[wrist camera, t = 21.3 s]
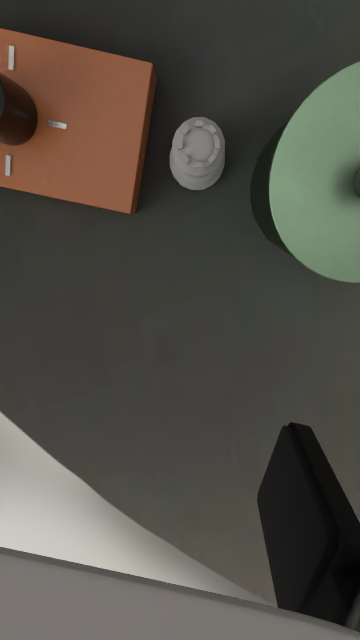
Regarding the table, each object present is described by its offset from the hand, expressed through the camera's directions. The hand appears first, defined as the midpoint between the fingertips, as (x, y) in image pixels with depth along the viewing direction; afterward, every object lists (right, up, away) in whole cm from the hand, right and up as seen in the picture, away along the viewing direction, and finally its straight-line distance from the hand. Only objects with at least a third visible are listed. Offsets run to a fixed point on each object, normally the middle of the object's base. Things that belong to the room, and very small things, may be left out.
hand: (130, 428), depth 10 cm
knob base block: (-8, +18, +16) cm, 26 cm away
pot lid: (+13, +12, +9) cm, 19 cm away
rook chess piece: (+3, +16, +17) cm, 24 cm away
